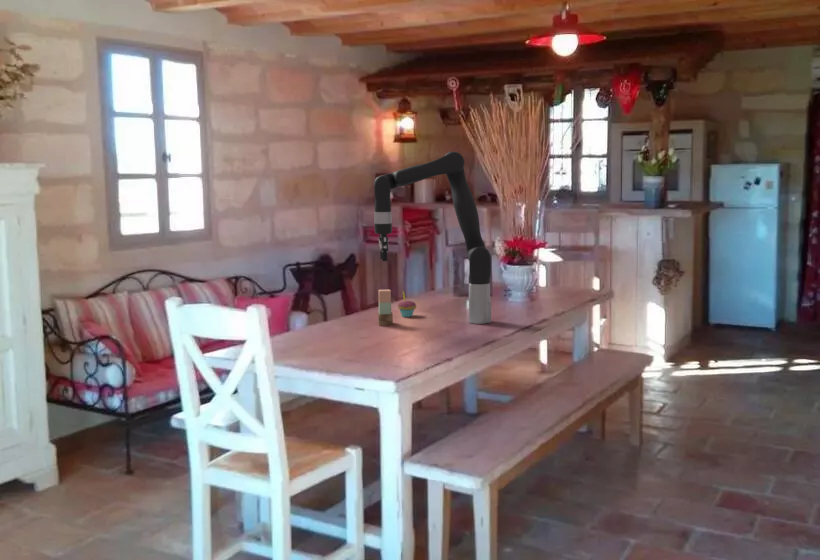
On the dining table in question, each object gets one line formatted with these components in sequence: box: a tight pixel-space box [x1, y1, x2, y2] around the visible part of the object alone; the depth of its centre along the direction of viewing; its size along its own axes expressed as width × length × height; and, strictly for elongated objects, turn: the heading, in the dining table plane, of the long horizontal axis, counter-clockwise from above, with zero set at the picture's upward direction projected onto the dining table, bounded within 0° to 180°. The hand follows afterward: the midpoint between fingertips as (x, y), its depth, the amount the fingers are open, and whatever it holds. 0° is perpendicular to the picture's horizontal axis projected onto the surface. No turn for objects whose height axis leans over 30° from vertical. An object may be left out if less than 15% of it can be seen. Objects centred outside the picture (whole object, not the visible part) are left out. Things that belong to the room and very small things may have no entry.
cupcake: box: [397, 291, 417, 318], centre depth 393 cm, size 9×8×12 cm
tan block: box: [378, 289, 392, 304], centre depth 373 cm, size 5×5×5 cm
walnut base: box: [377, 311, 394, 327], centre depth 375 cm, size 6×6×5 cm
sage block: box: [378, 302, 392, 314], centre depth 374 cm, size 5×5×5 cm
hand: (383, 260), depth 371 cm, fingers open, 8 cm apart
